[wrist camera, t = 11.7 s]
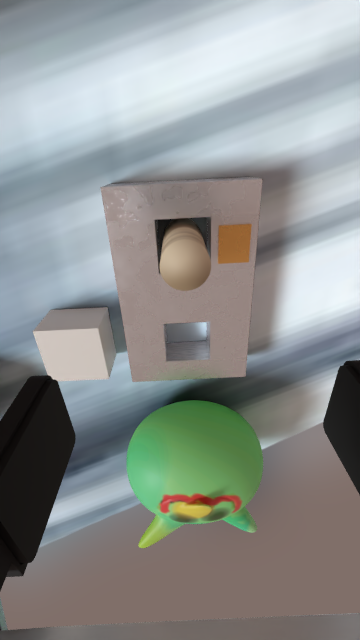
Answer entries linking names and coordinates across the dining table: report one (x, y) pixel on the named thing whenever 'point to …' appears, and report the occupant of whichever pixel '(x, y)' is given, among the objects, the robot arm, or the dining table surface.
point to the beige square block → (76, 344)
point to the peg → (184, 256)
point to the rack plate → (194, 305)
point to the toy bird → (194, 467)
